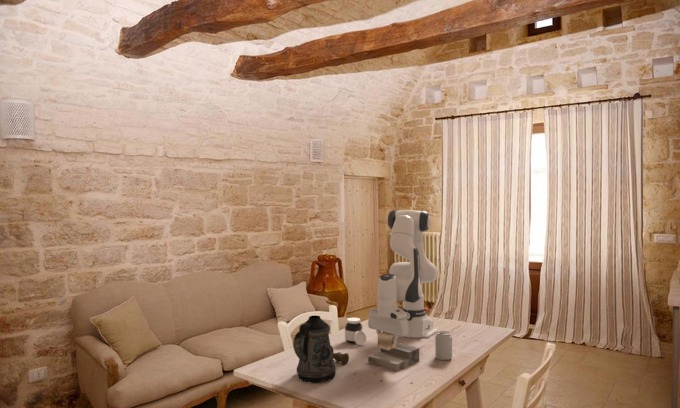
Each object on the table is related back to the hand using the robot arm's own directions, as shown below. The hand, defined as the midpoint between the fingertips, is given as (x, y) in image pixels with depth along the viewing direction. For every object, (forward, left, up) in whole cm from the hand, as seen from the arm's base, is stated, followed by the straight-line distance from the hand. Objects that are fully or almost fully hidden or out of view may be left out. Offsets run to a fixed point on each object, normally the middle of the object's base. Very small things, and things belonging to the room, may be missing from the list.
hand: (387, 341), depth 212 cm
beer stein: (+32, -13, -10) cm, 36 cm away
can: (-24, +14, -10) cm, 29 cm away
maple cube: (-3, 0, +1) cm, 3 cm away
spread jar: (-14, -31, -10) cm, 35 cm away
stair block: (-5, 0, -10) cm, 11 cm away
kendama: (+13, -23, -11) cm, 29 cm away
